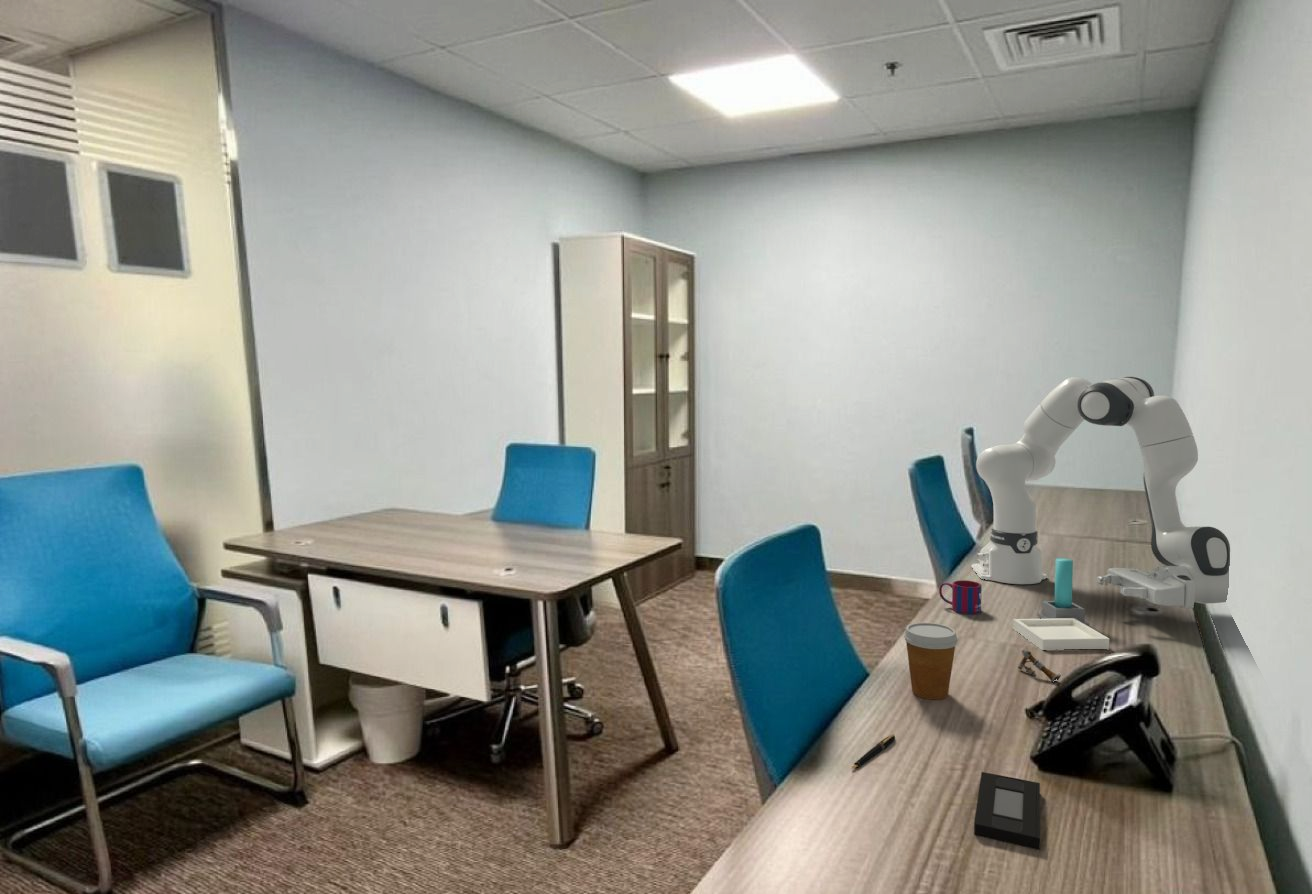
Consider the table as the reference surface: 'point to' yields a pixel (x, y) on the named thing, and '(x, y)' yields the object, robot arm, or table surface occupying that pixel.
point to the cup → (964, 596)
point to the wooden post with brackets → (1037, 664)
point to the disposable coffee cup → (930, 658)
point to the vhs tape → (1008, 810)
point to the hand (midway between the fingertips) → (1109, 585)
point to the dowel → (1063, 583)
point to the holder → (1062, 612)
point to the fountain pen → (874, 751)
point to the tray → (1060, 634)
